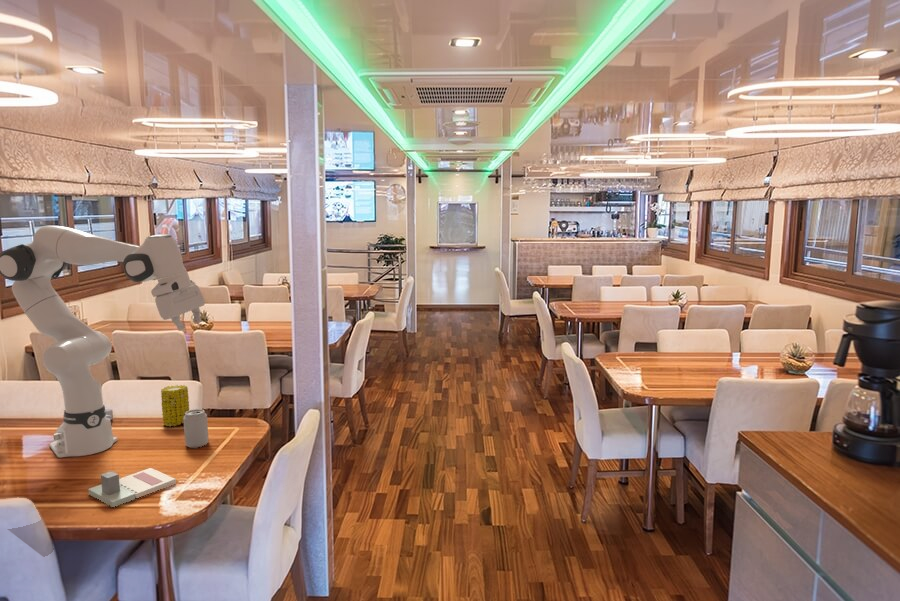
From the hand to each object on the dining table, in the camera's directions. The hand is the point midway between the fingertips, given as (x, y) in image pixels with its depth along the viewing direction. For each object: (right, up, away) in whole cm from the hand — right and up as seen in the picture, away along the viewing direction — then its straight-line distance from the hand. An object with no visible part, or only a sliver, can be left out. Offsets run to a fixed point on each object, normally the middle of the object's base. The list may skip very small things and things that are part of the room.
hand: (190, 326), depth 191 cm
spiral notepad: (-8, -46, -13) cm, 49 cm away
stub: (-13, -47, -21) cm, 53 cm away
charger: (-53, -39, +42) cm, 78 cm away
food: (-22, -39, +40) cm, 60 cm away
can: (-5, -42, +17) cm, 46 cm away
